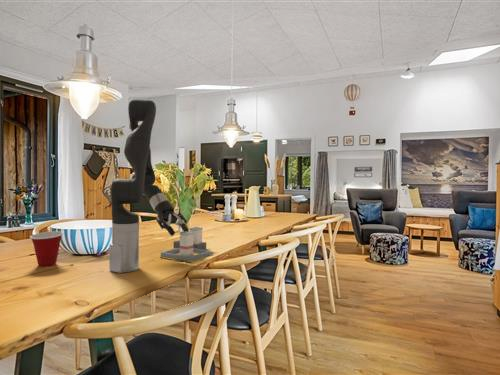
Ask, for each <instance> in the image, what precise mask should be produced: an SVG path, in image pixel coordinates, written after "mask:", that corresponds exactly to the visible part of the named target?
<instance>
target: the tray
mask: <svg viewBox="0 0 500 375" xmlns="http://www.w3.org/2000/svg"><path fill="white" fill-rule="evenodd" d="M176 253H177V254H176ZM178 253H180V248H173V249H169V250H165V251H161V252H160V259H163V260H169V261H173V260H174V261H173V262H179V263H184V262H185V263H186V264H192V261H195V260H199V259H201V258H205V257H207V256H211V255H212V250H209V249H208V250H207V249H204V250H202V249H195V248H193V253H196V254H195V255H194V254H193V255H192V256H183V255H179V254H178Z"/></svg>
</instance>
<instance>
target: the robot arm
mask: <svg viewBox="0 0 500 375" xmlns="http://www.w3.org/2000/svg"><path fill="white" fill-rule="evenodd" d="M127 109H128V110H127V111H128V119H129V124H130V130H131V132H130V133H129V135H128V136H127V137H126V140H125V144H124V145H125V146H124V148H123V153H124V157H125V159H126V161H127V162H128V163H129V166H130V167H131V168H132V170H133V172H134V173H133V175H132V176H131V178H115V179H112V182H111V185H110V201H111V204H110V205H111V223H112V224H111V227H112V228H111V243H110V244H109V272H114V273H119V274H122V273H130V272H134V271H137V270H139V267H140V264H139V262H140V260H139V259H140V257H139V256H140V253H139V252H140V216H139V214H137V213H135V212H132V211H130V210H128V209H126V208H125V207H124V205H139V204H140V203H142V202H143V198H144V196H145V198H146V199H147V201H148V202H149V203H150V206H151V208H152V209H153V211H154V212H155V213H156V215H157V216H156V218H155V220H156V222H157V223H158V225H159V228H161V230H163V229H165V230H166V231H167V232H168V234H169V235H170V236H171V237H173V236H174V235H175V234H176V231H175V230H174V228H173V227H172V226H171V225H176V226H179V227H180V229H181V230H182V232H185V231H188V232H190V228H188V226H187V225H186V224H187V223H188V220H187V219H186V218H185V216H184V215H183V214H182V213H181V212H178V213H176V212H175V208H174V206H173V205H172V203H171V202H170V200H169V199H168V198H167V196H166V195H165V194H164V193H163V191H162V190H161V189H160V187H159V186H158V185H156V184H155V182H156V179H157V178H156V174H155V171H154V168H153V165H152V155H151V154H152V151H151V145H150V144H151V137H152V131H153V127H154V124H155V120H156V119H155V118H156V114H157V106H156V103H155V102H154V101H153V100H150V99H136V98H135V99H133V98H132V99H130V100H129V102H128V108H127ZM139 122H141V124H140V125H139Z"/></svg>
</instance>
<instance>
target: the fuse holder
mask: <svg viewBox="0 0 500 375" xmlns="http://www.w3.org/2000/svg"><path fill="white" fill-rule="evenodd" d="M176 248H180V239H178V240H174V241H173V249H176ZM193 248H195V249H202V250H207V242H205V241H202V243H200V244H193Z"/></svg>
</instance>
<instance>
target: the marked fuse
mask: <svg viewBox="0 0 500 375" xmlns="http://www.w3.org/2000/svg"><path fill="white" fill-rule="evenodd" d="M193 234H194V232H190V231H185V232H184V231H181V232H179V240H180V252H179V254H178V255H183V256H189V257H190V256H194V252H193Z"/></svg>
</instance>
